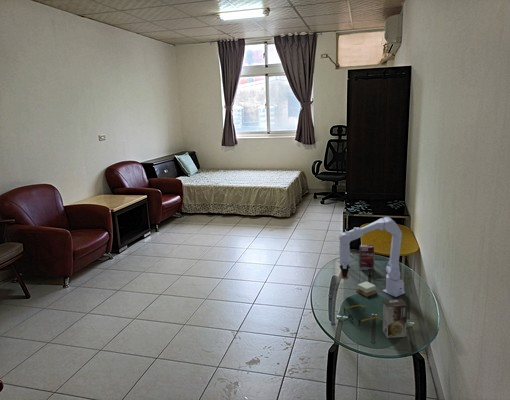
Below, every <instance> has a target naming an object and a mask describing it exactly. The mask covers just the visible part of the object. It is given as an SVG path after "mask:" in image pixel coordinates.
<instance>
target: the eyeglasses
mask: <svg viewBox="0 0 510 400" xmlns="http://www.w3.org/2000/svg"><path fill="white" fill-rule="evenodd" d="M359 306H360V307H362V308H363V309H365V308H364V307H365V306H364V305H362V304H356V305H352V306H351V305H350V306H346V307H343V312H344V314H346V313H348V316H349V318H350V319H351V320H353V321H354V319H356V320H357V321H358V325H359V326H360V325H361V323H362V322H363V323H364V322H366V321H370V320H373V319H378V320H380V321H381V322H383V318H380V317H379V316H374V317H369V318H364V319H359V318H357V317H356V316H353V315H351V314H350V312H349V311H348V310H347V309H351V308H353V307H354V308H355V307H359ZM349 318H348V319H349Z"/></svg>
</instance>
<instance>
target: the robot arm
mask: <svg viewBox="0 0 510 400" xmlns="http://www.w3.org/2000/svg"><path fill="white" fill-rule="evenodd" d="M375 230H380V231H386V232H388V233H390V234H391V244H390V252H389V260H388V262H387V265H386V266H385V272H386V273H387V274H386V275H385V280H386V281H385V289H382V292H384V293H386V294H389V295H390V296H393V297H395V298H397V297H399V296H402V295H403V294H405V293H406V292H405V282H404V280H402V279H401V278H400V277H401V271H400V263H399V262H400V254H401V245H402V237H403V236H402V235H403V233H402V230H401V229H400V227H399V226H398V223H396V221H395V220H393V219H392V218H391V217H390V216H384V217H381V218H379V219H377V220H375V221H373V222H371V223H369V224H367V225H365V226H363V227H353V229H351V230H349V231H348V230H346V231H345V232H344V231H343V232H341V233H339V236H338V239H339V253H338V254H339V259H337V263H339V264H340V265H339V269H340V272H341V271H342V276H343V277H344V278H347V273H348V271H349V270H350V268H351V267H350V266H349V265H350V263H351V258H350V257H351V254H350V251H351V250H350V249H351V248H350V247H351V245H350V243H351V242H353V241H355V240H357V239H359V238H362V237H363V235H365V234H366V233H369V232H373V231H375Z"/></svg>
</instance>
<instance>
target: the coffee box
mask: <svg viewBox="0 0 510 400" xmlns="http://www.w3.org/2000/svg"><path fill="white" fill-rule="evenodd" d="M382 302H383V303H382V320H383V321H382V332H383V333H384V335H385V336H386V338H387V339H392V338H403V337H407V329H408V328H407V326H408V325H407V324H408V319H407V318H408V305H407V304H406V303H405V301H404V300H403V299H402V298H395V299H388V300H387V299H386V300H383V301H382Z"/></svg>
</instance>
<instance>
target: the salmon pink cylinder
mask: <svg viewBox="0 0 510 400" xmlns="http://www.w3.org/2000/svg"><path fill="white" fill-rule="evenodd" d="M349 273H350V271H349V270H348V273H347V278H344V277H343V276H342V271H341V270H340V278H341V279H342V280H349V276H350V275H349Z"/></svg>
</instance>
